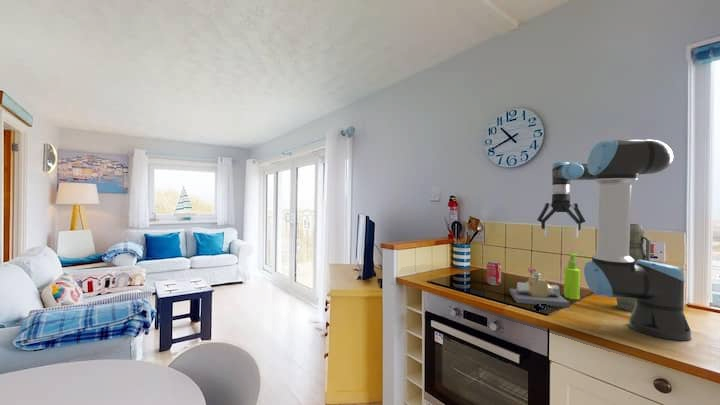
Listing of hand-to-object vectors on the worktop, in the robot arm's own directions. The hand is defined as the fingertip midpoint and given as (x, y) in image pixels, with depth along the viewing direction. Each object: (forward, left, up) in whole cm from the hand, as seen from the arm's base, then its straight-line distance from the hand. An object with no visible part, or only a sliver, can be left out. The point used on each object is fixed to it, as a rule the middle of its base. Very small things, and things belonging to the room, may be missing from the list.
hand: (560, 236), depth 155 cm
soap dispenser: (-11, -2, -27) cm, 29 cm away
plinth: (-20, +15, -27) cm, 37 cm away
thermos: (-22, -19, -27) cm, 40 cm away
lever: (-15, +15, -17) cm, 27 cm away
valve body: (-20, +15, -26) cm, 36 cm away
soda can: (+3, +30, -27) cm, 41 cm away
